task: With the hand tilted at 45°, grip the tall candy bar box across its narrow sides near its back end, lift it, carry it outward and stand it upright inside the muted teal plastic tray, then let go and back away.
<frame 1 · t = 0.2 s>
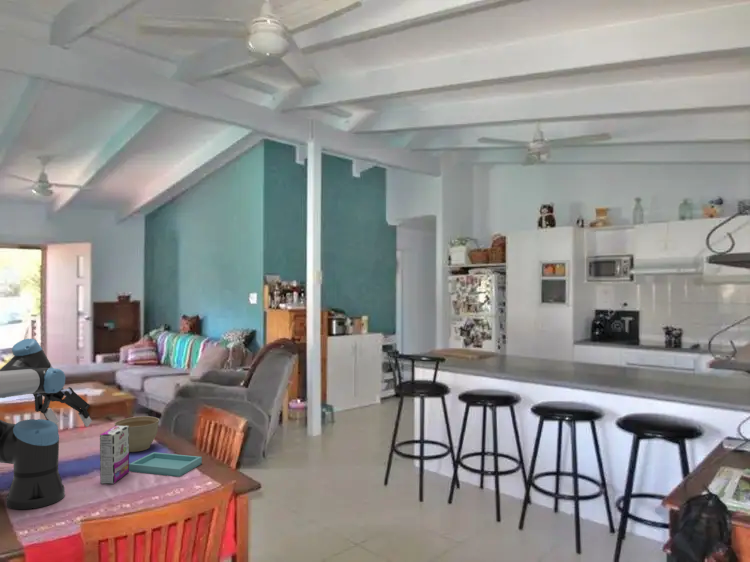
hand: (72, 423, 201), 15 cm above the table, tool tilted 35°, fingers open, 13 cm apart
candy bar box: (114, 478, 190), on the table
planter bowl: (136, 449, 223), on the table
tray: (165, 467, 201), on the table
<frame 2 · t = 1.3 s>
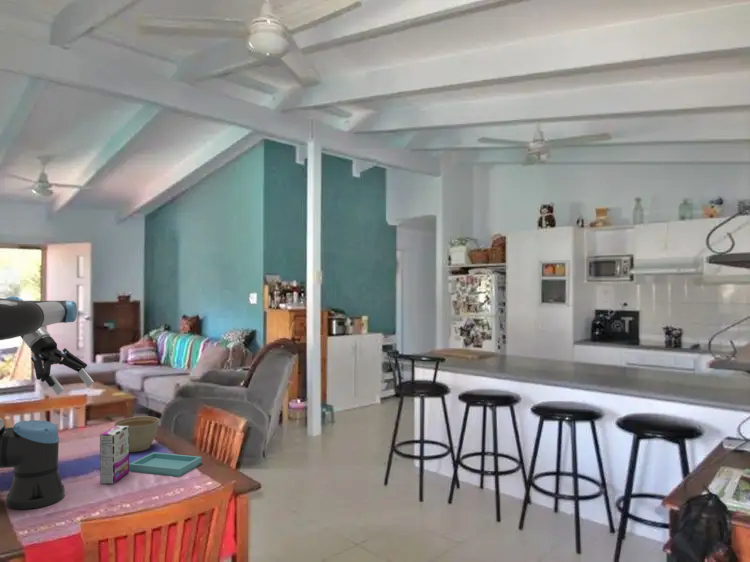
hand: (76, 388, 194), 29 cm above the table, tool tilted 45°, fingers open, 13 cm apart
nothing on the table moved.
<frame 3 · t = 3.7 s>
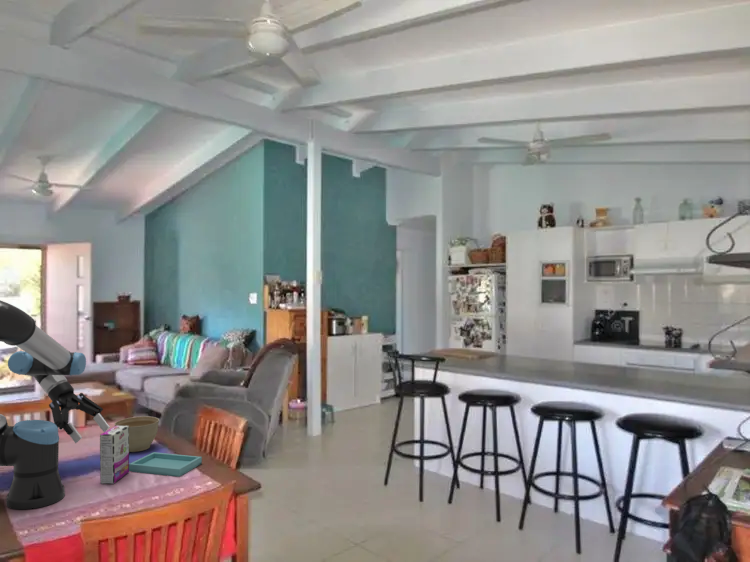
hand: (93, 435, 194), 13 cm above the table, tool tilted 45°, fingers open, 13 cm apart
nothing on the table moved.
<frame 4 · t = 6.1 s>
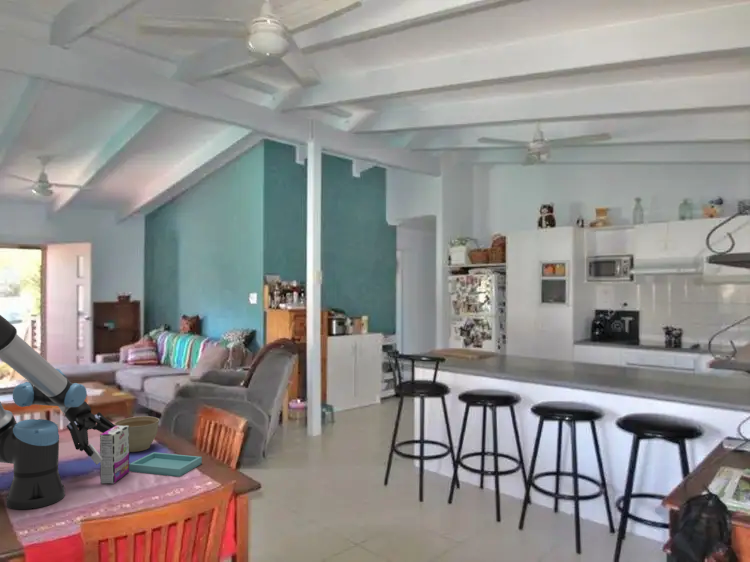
hand: (112, 456, 190), 7 cm above the table, tool tilted 45°, fingers closed on candy bar box, 11 cm apart
candy bar box: (114, 478, 190), on the table, touching gripper
everything else where it was.
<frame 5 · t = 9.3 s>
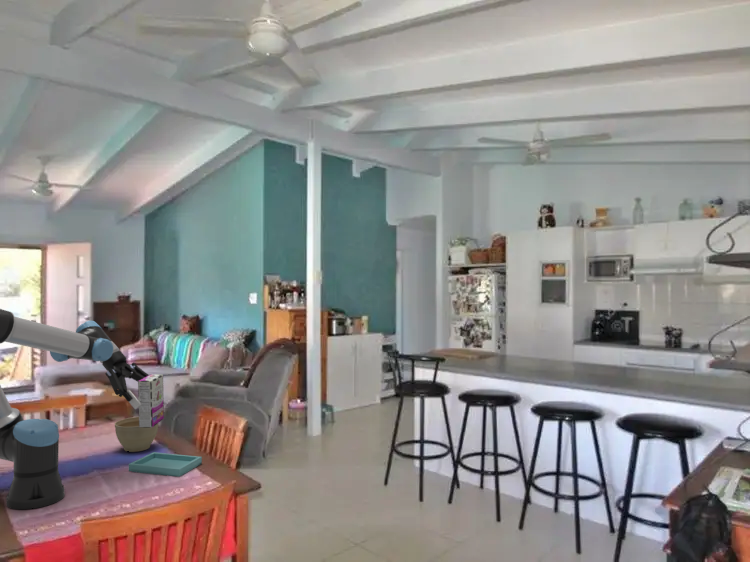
hand: (149, 402, 199), 23 cm above the table, tool tilted 45°, fingers closed on candy bar box, 11 cm apart
candy bar box: (151, 423, 199), point 16 cm above the table, touching gripper
everything else where it was.
when the fingers open (10 cm above the table, at t = 12.7 s): candy bar box drops 2 cm, resting on tray.
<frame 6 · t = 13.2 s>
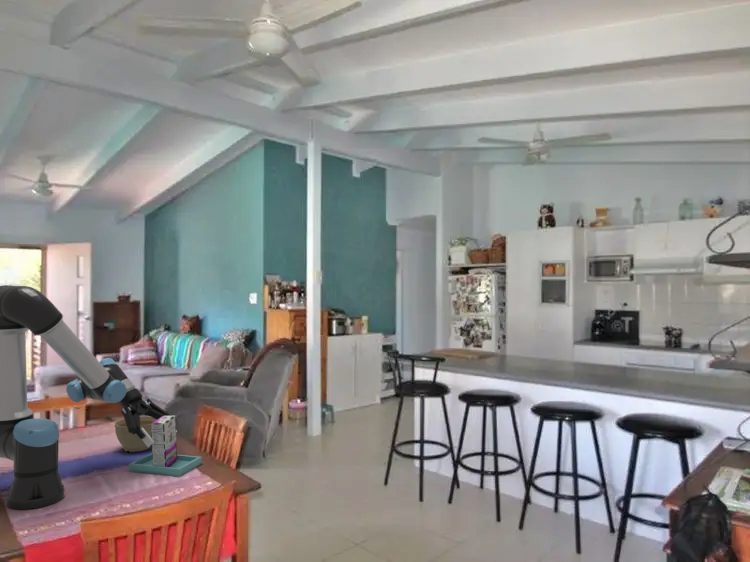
hand: (163, 439, 201), 10 cm above the table, tool tilted 45°, fingers open, 13 cm apart
candy bar box: (165, 465, 201), point 1 cm above the table, touching tray
everything else where it was.
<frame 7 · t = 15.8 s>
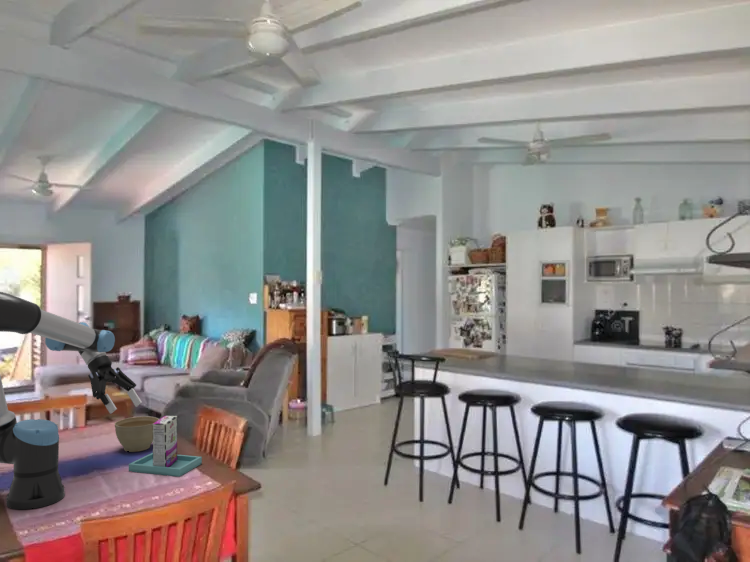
hand: (126, 408, 204), 20 cm above the table, tool tilted 40°, fingers open, 13 cm apart
nothing on the table moved.
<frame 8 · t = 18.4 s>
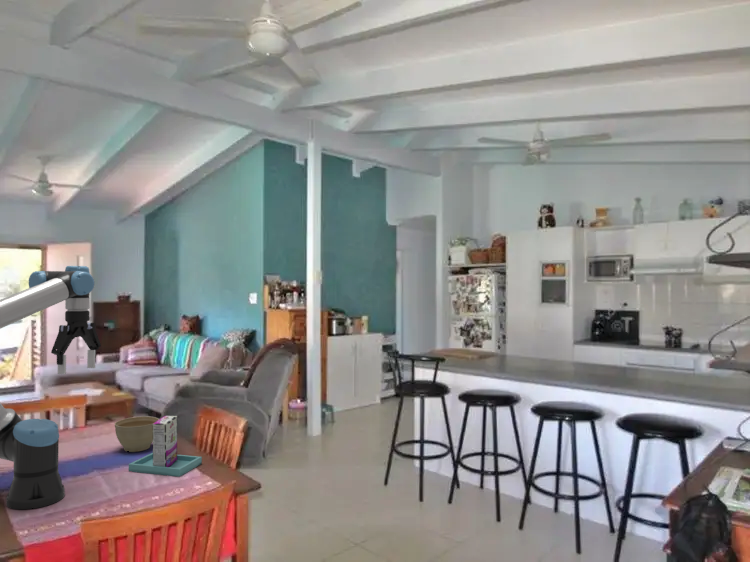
hand: (77, 371, 197), 35 cm above the table, tool pointing down, fingers open, 13 cm apart
nothing on the table moved.
at the end: candy bar box inside the target area on the tray (0.4 cm from its centre), point 0.6 cm above the tray's base; candy bar box tilted 0°; the gripper is holding nothing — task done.
